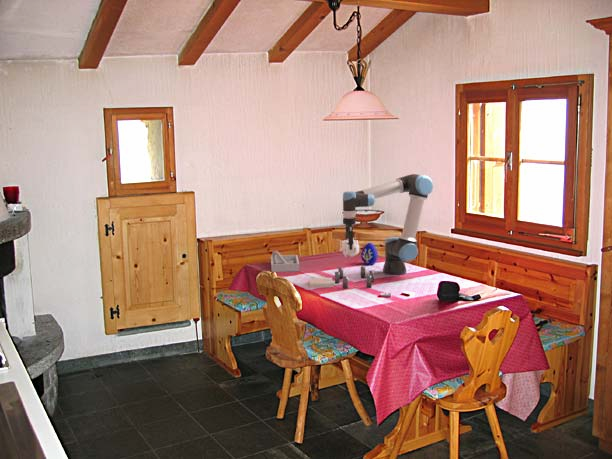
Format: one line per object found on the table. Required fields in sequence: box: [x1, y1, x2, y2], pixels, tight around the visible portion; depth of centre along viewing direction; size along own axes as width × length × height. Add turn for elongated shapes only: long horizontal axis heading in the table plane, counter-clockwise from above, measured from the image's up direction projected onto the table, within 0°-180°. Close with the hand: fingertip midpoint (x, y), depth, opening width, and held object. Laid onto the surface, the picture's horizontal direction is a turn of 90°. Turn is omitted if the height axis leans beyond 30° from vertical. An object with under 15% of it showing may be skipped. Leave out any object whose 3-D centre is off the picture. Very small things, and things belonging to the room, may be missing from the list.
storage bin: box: [270, 254, 300, 273], centre depth 471 cm, size 18×29×5 cm, turn 3°
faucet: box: [271, 250, 295, 264], centre depth 471 cm, size 14×11×20 cm
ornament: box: [360, 242, 379, 266], centre depth 472 cm, size 11×9×15 cm
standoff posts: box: [334, 265, 375, 290], centre depth 422 cm, size 24×28×7 cm
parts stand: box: [308, 277, 335, 289], centre depth 419 cm, size 14×14×2 cm
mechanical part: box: [339, 237, 360, 259], centre depth 418 cm, size 11×12×12 cm
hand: (349, 253), depth 419 cm, fingers closed on mechanical part, 12 cm apart
